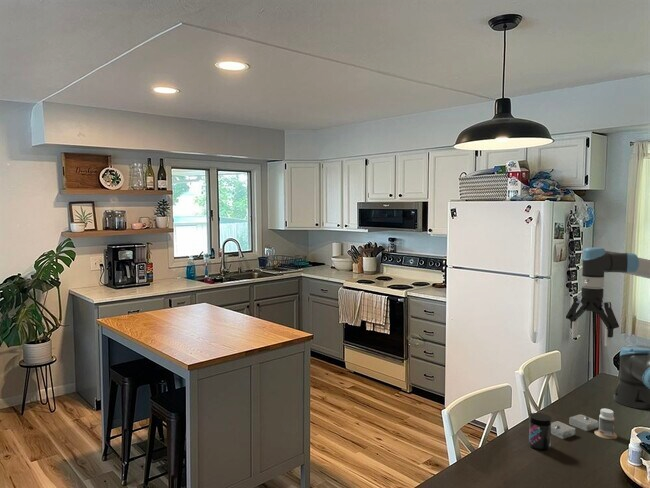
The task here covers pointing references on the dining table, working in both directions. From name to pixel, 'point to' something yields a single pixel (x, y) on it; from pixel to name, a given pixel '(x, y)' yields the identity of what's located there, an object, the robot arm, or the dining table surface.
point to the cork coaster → (604, 435)
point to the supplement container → (540, 431)
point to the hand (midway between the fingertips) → (590, 341)
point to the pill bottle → (606, 422)
